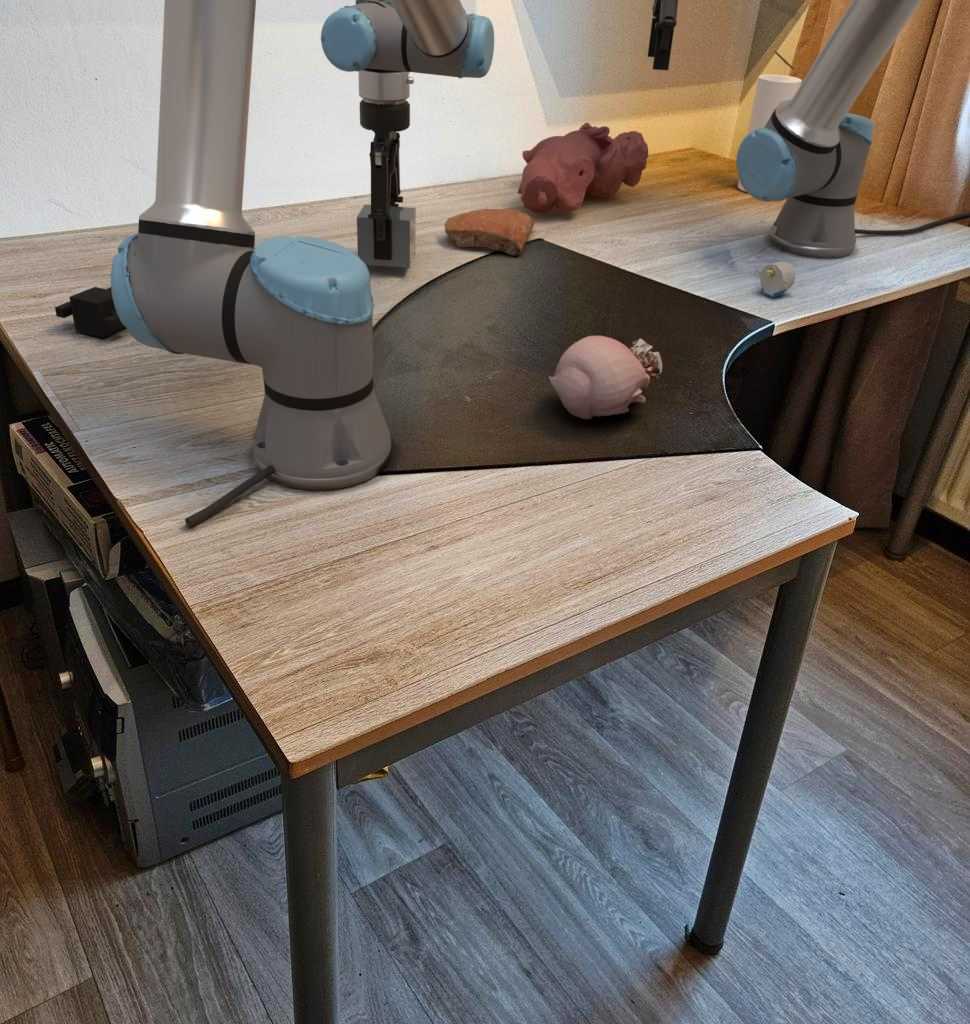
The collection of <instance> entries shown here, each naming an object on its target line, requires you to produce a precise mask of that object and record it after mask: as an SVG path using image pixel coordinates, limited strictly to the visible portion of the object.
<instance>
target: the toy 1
mask: <svg viewBox="0 0 970 1024" xmlns="http://www.w3.org/2000/svg"><path fill="white" fill-rule="evenodd" d="M68 298H69V301H67V302H65V303H62V304H59V305H57V306H55V307H54V310H55V315H56V317H57V318H61V319H66V318H68V317H70V316H72V320H73V325H74V330H75V332H79V333H83V334H87V335H91V336H95V337H98V338H105V337H108V336H110V335H112V334H114V333H116V332H119V331H121V330H123V329H125V328H126V327H125V326H124V325H123V324H122V322H121V321H120V318H119V316H118V314H117V311H116V308H115V305H114V301H113V297H112V290H111V286H109V287H108V288H102V287H99V286H93V287H91V288H87V289H86V290H83V291H80V292H78V293H76V294H72V295H71V296H69V297H68Z"/></svg>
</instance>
